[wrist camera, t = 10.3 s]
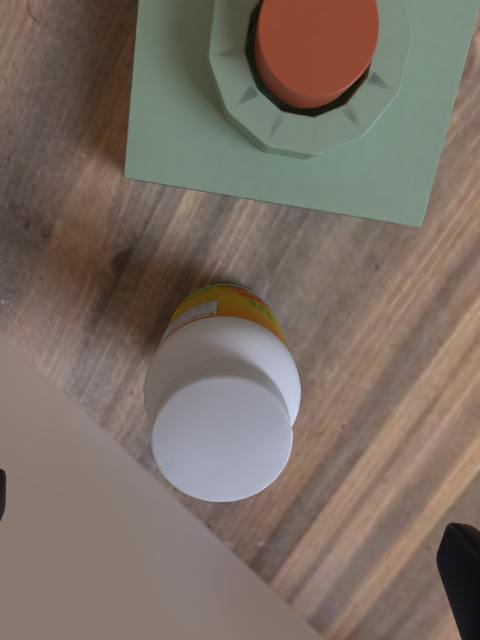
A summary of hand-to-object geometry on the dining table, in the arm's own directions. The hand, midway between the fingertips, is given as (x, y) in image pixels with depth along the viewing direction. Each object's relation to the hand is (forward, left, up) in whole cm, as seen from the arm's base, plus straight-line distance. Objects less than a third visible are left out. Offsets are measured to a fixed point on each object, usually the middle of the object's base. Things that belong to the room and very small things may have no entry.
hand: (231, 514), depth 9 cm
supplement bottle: (0, 0, -13) cm, 13 cm away
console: (+11, -1, -13) cm, 17 cm away
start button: (+11, -1, -9) cm, 14 cm away
